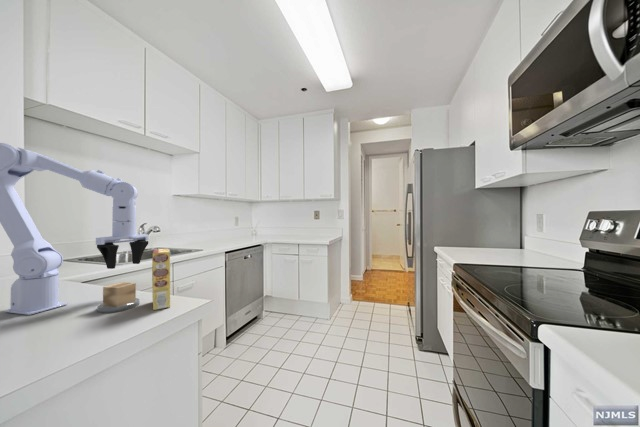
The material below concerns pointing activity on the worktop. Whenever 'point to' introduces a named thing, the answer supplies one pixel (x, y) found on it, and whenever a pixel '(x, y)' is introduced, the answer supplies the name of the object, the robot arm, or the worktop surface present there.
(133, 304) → the slate coaster
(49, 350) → the worktop surface
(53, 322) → the worktop surface
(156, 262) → the candy box
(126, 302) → the oak cube
